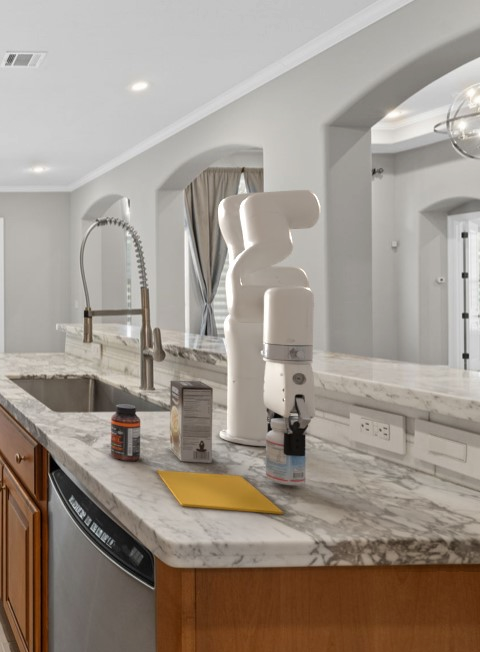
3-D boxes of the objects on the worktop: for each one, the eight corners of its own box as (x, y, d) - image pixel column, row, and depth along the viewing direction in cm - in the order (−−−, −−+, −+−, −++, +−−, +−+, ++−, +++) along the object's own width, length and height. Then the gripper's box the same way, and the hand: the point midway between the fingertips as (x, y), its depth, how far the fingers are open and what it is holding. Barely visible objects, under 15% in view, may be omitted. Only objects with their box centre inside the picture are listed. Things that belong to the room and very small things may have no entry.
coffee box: (168, 449, 124) (169, 379, 124) (198, 451, 123) (199, 380, 123) (180, 461, 115) (181, 386, 115) (213, 463, 114) (214, 387, 114)
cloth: (156, 472, 109) (156, 470, 109) (240, 477, 105) (240, 475, 105) (181, 506, 91) (181, 503, 91) (283, 514, 88) (283, 511, 88)
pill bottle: (298, 476, 103) (299, 418, 103) (310, 488, 98) (311, 426, 97) (261, 473, 105) (262, 416, 105) (270, 484, 100) (271, 423, 99)
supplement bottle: (104, 455, 120) (104, 404, 120) (124, 452, 122) (125, 402, 122) (125, 463, 114) (125, 409, 114) (146, 459, 117) (146, 407, 117)
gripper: (336, 360, 91) (334, 466, 92) (288, 348, 108) (286, 437, 109) (285, 359, 93) (283, 463, 94) (246, 347, 110) (244, 435, 111)
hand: (285, 448), depth 101 cm, fingers closed on pill bottle, 6 cm apart
